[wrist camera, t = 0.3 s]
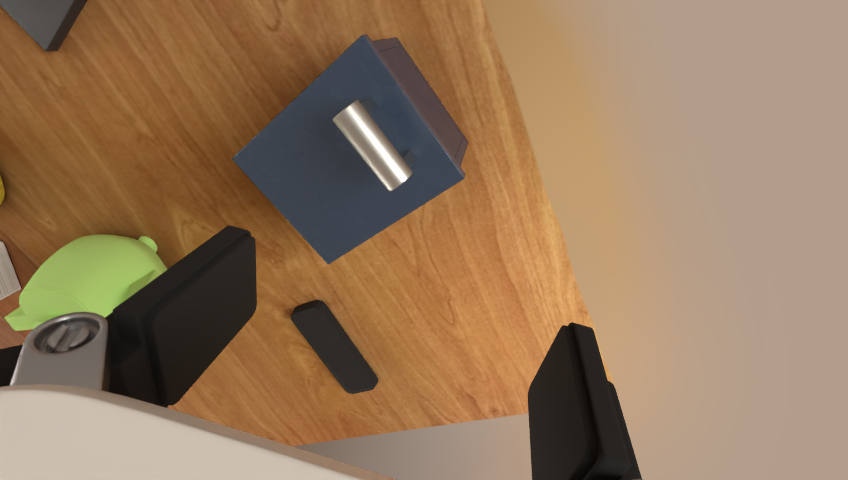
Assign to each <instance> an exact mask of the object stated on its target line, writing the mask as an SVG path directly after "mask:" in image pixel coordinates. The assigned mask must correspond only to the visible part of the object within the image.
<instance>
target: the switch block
mask: <svg viewBox="0 0 848 480" xmlns="http://www.w3.org/2000/svg"><path fill="white" fill-rule="evenodd" d="M86 1H87V0H0V6H1V7H2V8H3V9H4V10H5V11H6V12H7V13H8V14H9V15H10V16H11V17H12V18H13V19H14V20H15V21H16V22H17V23H18V24H19V25H20V26H21V27H22V28H23V29H24V30H25V31H26V32H27V33H28V34H29V35H30V36H31V37H32V38H33V39H34V40H35V41H36V42H37V43H38V44H39V45H40V46H41V47H42V48H43V49H44V50H45V51H57V50H58V49H59V47H60V45H61V44H62V42H63V40H64V39H65V37H66V35H67V33H68V32H69V30H70V28H71V27H72V25H73V23H74V21H75V20H76V18H77V16H78V15H79V13H80V11H81V9H82V8H83V6H84V4H85V2H86Z"/></svg>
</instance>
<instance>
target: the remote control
mask: <svg viewBox="0 0 848 480" xmlns="http://www.w3.org/2000/svg"><path fill="white" fill-rule="evenodd" d="M291 319H292V321H293V323H294V324H295V325H296V327H297V328H298V329H299V331H300V332H301V333H302V335H303V336H304V337H305V338H306V340H307V341H308V342H309V344H310V345H311V346H312V348H313V349H314V350H315V352H316V353H317V354H318V356H319V357H320V358H321V359H322V361H323V362H324V363H325V365H326V366H327V367H328V369H329V370H330V371H331V373H332V374H333V375H334V377H335V378H336V379H337V381H338V382H339V383H340V384H341V386H342V387H343V388H344V390H345V391H346V392H348V393H351V394H355V393H359V392H364V391H369V390H372V389H374V388H375V386H376V384H377V383H378V378H377V376H376V375H375V373H374V372H373V371H372V369H371V368H370V366H369V365H368V364H367V362H366V361H365V359H364V358H363V356H362V355H361V354H360V352H359V351H358V349H357V348H356V347H355V345H354V344H353V342H352V341H351V339H350V338H349V337H348V335H347V334H346V332H345V331H344V329H343V328H342V327H341V325H340V324H339V322H338V321H337V320H336V318H335V317H334V315H333V314H332V312H331V311H330V310H329V308H328V307H327V305H326V304H325V303H324V302H323V301H320V300H317V301H312V302H309V303H306V304H303V305H300V306H297V307H296V308H295V309H294V311H293V313H292V315H291Z"/></svg>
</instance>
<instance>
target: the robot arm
mask: <svg viewBox="0 0 848 480" xmlns="http://www.w3.org/2000/svg"><path fill="white" fill-rule="evenodd" d="M256 306H257V294H256V249H255V239H254V237H251V234H250V232H249V231H248V230H244V229H241V228H237V227H234V226H227V227H225V228H224V229H223V230H221V231H220V232H219V233H217V234H216V235H214V236H213V237H212V238H210V239H209V240H208V241H206V242H205V243H203V244H202V245H201V246H199V247H198V248H197V249H195V250H194V251H192V252H191V253H190V254H188V255H187V256H186V257H184V258H183V259H181V260H180V261H179V262H177V263H176V264H175V265H173V266H172V267H170V268H169V269H168V270H166V271H165V272H164V273H162V274H161V275H159V276H158V277H157V278H155V279H154V280H153V281H151V282H150V283H148V284H147V285H146V286H144V287H143V288H142V289H140V290H139V291H137V292H136V293H135V294H133V295H132V296H131V297H129V298H128V299H126V300H125V301H124V302H122V303H121V304H120V305H118V306H117V307H115V308H114V309H113V312H112V313H111V314H109V315H108V316H107V317H105V318H104V317H103V316H102V315H99V314H96V313H92V312H73V313H68V314H64V315H60V316H57V317H54V318H52V319H49V320H47V321H45V322H43V323H42V324H40V325H38V326H37V327H35V328H34V329H33V330H32V331H31V332H30V333H29V334H28V335H27V337H26V339H25V340H24V343H23V345H18V346H14V347H9V348H5V349H0V480H396V479H393V478H390V477H387V476H384V475H380V474H377V473H374V472H371V471H368V470H365V469H362V468H358V467H355V466H352V465H349V464H346V463H342V462H339V461H336V460H333V459H330V458H326V457H323V456H320V455H317V454H314V453H311V452H308V451H305V450H301V449H298V448H295V447H292V446H289V445H285V444H282V443H279V442H276V441H273V440H269V439H266V438H263V437H260V436H257V435H253V434H250V433H247V432H244V431H240V430H237V429H234V428H231V427H227V426H224V425H221V424H218V423H214V422H211V421H208V420H205V419H201V418H198V417H195V416H192V415H189V414H185V413H182V412H179V411H175V410H172V409H168V408H167V406H168V405H174V404H176V403H177V402H178V401H179V400H180V399H181V398H182V396H183V395H184V394H185V393H186V392H187V391H188V390H189V388H190V387H191V386H192V385H193V384H194V383H195V381H196V380H197V379H198V378H199V377H200V376H201V375H202V373H203V372H204V371H205V370H206V369H207V368H208V367H209V365H210V364H211V363H212V362H213V361H214V360H215V358H216V357H217V356H218V355H219V354H220V353H221V352H222V350H223V349H224V348H225V347H226V346H227V345H228V344H229V342H230V341H231V340H232V339H233V338H234V337H235V335H236V334H237V333H238V332H239V331H240V330H241V329H242V327H243V326H244V325H245V324H246V323H247V322H248V320H249V319H250V318H251V317H252V316H253V314H254V312H255V310H256ZM528 409H529V427H530V445H531V464H532V480H642V478H641V474H640V471H639V468H638V464H637V461H636V458H635V454H634V451H633V448H632V444H631V440H630V437H629V434H628V430H627V427H626V423H625V420H624V417H623V413H622V410H621V407H620V403H619V400H618V396H617V393H616V390H615V387H614V385H613V384H612V383H611V382H609V381H607V377H606V373H605V370H604V366H603V363H602V359H601V355H600V352H599V348H598V345H597V341H596V338H595V334H594V331H593V329H592V328H590V327H587V326H583V325H580V324H576V323H570V324H569V325H568V326H564V325H563V326H562V327H561V328H560V330H559V332H558V334H557V336H556V338H555V340H554V341H553V343H552V345H551V347H550V349H549V351H548V353H547V355H546V357H545V359H544V360H543V362H542V364H541V366H540V368H539V370H538V372H537V374H536V376H535V378H534V379H533V381H532V383H531V385H530V388H529V392H528Z"/></svg>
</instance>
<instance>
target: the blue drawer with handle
mask: <svg viewBox="0 0 848 480" xmlns="http://www.w3.org/2000/svg"><path fill="white" fill-rule="evenodd" d="M232 160H233V161H234V162H235V163H236V164H237V165H238V166H239V167H240V169H241V170H242V171H243V172H244V173H245V174H246V175H247V176H248V177H249V178H250V179H251V181H252V182H253V183H254V184H255V185H256V186H257V187H258V188H259V189H260V190H261V192H262V193H263V194H264V195H265V196H266V197H267V198H268V199H269V200H270V201H271V202H272V204H273V205H274V206H275V207H276V208H277V209H278V210H279V211H280V212H281V213H282V215H283V216H284V217H285V218H286V219H287V220H288V221H289V222H290V223H291V224H292V225H293V227H294V228H295V229H296V230H297V231H298V232H299V233H300V234H301V235H302V236H303V238H304V239H305V240H306V241H307V242H308V243H309V244H310V245H311V246H312V247H313V248H314V250H315V251H316V252H317V253H318V254H319V255H320V256H321V257H322V258H323V259H324V261H325V262H326V263H327V264H330V263H331V262H333V261H335V260H336V259H338V258H339V257H341V256H343V255H344V254H346V253H347V252H349V251H350V250H352V249H354V248H355V247H357V246H358V245H360V244H361V243H363V242H365V241H366V240H368V239H369V238H371V237H373V236H374V235H376V234H377V233H379V232H380V231H382V230H384V229H385V228H387V227H388V226H390V225H392V224H393V223H395V222H396V221H398V220H399V219H401V218H403V217H404V216H406V215H407V214H409V213H411V212H412V211H414V210H415V209H417V208H418V207H420V206H422V205H423V204H425V203H426V202H428V201H429V200H431V199H433V198H434V197H436V196H437V195H439V194H441V193H442V192H444V191H445V190H447V189H448V188H450V187H452V186H453V185H455V184H456V183H458V182H460V181H461V180H463V179H464V178H465V173H464V171H463V170H462V168H461V167H460V166H459V164H458V163H457V161H456V160H455V159H454V157H453V156H452V154H451V153H450V151H449V150H448V149H447V147H446V146H445V144H444V143H443V142H442V140H441V139H440V137H439V136H438V134H437V133H436V132H435V130H434V129H433V127H432V126H431V125H430V123H429V122H428V120H427V119H426V118H425V116H424V115H423V113H422V112H421V110H420V109H419V108H418V106H417V105H416V103H415V102H414V101H413V99H412V98H411V96H410V95H409V93H408V92H407V91H406V89H405V88H404V86H403V85H402V84H401V82H400V81H399V79H398V78H397V76H396V75H395V74H394V72H393V71H392V69H391V68H390V67H389V65H388V64H387V62H386V61H385V59H384V58H383V57H382V55H381V54H380V52H379V51H378V50H377V48H376V47H375V45H374V44H373V42H372V41H371V40H370V38H369V37H368V35H367V34H366V35H362V36H361V37H360V38H359V39H357V40H356V41H355V42H354V43H353V44H352V45H351V46H350V47H349V48H348V49H347V50H346V51H345V52H344V53H343V54H342V55H341V56H340V57H338V58H337V59H336V60H335V61H334V62H333V63H332V64H331V65H330V66H329V67H328V68H327V69H326V70H325V71H324V72H323V73H322V74H321V75H319V76H318V77H317V78H316V79H315V80H314V81H313V82H312V83H311V84H310V85H309V86H308V87H307V88H306V89H305V90H304V91H303V92H302V93H301V94H299V95H298V96H297V97H296V98H295V99H294V100H293V101H292V102H291V103H290V104H289V105H288V106H287V107H286V108H285V109H284V110H283V111H282V112H280V113H279V114H278V115H277V116H276V117H275V118H274V119H273V120H272V121H271V122H270V123H269V124H268V125H267V126H266V127H265V128H264V129H263V130H261V131H260V132H259V133H258V134H257V135H256V136H255V137H254V138H253V139H252V140H251V141H250V142H249V143H248V144H247V145H246V146H245V147H244V148H242V149H241V150H240V151H239V152H238V153H237V154H236V155H235V156H234V157H233V158H232Z"/></svg>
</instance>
